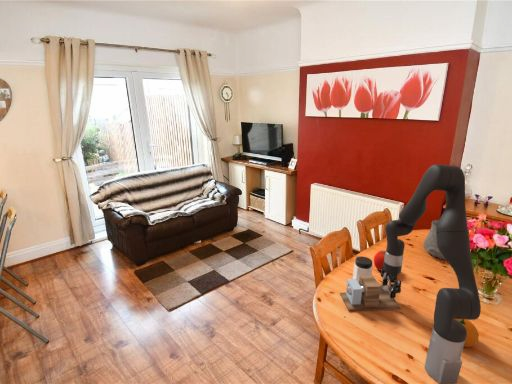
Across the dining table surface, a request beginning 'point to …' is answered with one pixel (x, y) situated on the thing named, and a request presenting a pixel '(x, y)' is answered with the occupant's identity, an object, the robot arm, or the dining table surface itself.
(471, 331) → the fruit
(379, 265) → the tomato
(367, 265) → the jar
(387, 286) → the shaft
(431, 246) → the vessel
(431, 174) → the robot arm
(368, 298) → the bearing block
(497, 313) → the dining table surface
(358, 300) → the block
